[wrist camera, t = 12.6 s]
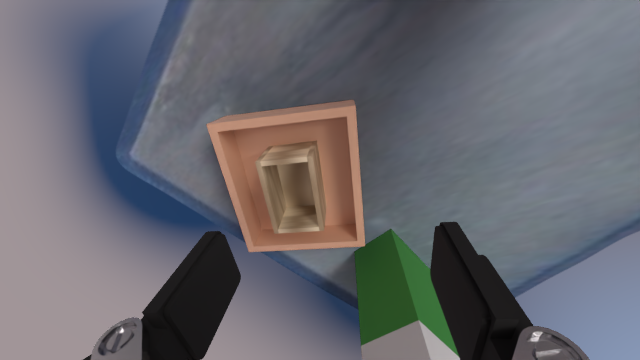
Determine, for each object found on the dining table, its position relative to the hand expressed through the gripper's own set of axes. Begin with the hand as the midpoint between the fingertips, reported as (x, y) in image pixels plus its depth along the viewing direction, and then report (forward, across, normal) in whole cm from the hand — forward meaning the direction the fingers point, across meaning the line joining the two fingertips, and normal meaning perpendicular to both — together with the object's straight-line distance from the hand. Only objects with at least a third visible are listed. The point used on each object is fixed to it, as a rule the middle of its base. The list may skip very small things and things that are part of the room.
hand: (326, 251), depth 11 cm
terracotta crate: (+23, +7, +7) cm, 25 cm away
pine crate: (+22, +6, +7) cm, 24 cm away
